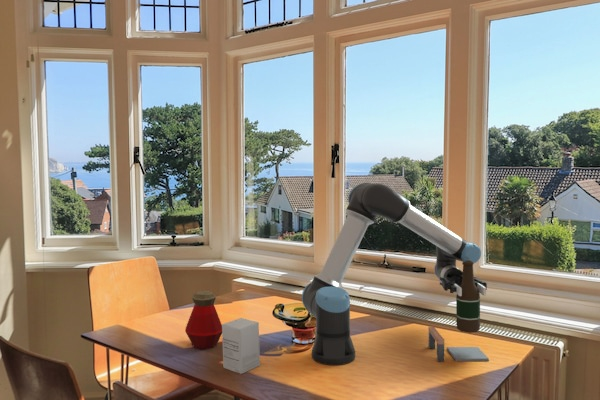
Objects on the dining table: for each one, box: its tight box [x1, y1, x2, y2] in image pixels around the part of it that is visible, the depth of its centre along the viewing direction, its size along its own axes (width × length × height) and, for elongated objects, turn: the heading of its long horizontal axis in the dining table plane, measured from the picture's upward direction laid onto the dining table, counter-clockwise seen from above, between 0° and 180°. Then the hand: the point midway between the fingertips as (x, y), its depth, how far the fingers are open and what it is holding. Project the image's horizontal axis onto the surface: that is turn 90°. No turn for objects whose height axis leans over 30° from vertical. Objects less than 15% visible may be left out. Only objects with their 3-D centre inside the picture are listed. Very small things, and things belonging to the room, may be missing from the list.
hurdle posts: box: [427, 331, 445, 363], centre depth 172 cm, size 2×14×6 cm, turn 179°
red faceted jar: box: [185, 290, 223, 350], centre depth 185 cm, size 16×14×20 cm
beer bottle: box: [455, 260, 481, 334], centre depth 170 cm, size 8×8×24 cm
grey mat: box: [446, 346, 490, 362], centre depth 171 cm, size 11×11×1 cm
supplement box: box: [221, 317, 261, 375], centre depth 163 cm, size 9×9×15 cm
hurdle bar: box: [427, 326, 445, 345], centre depth 172 cm, size 2×14×2 cm, turn 178°
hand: (472, 291), depth 165 cm, fingers closed on beer bottle, 7 cm apart
